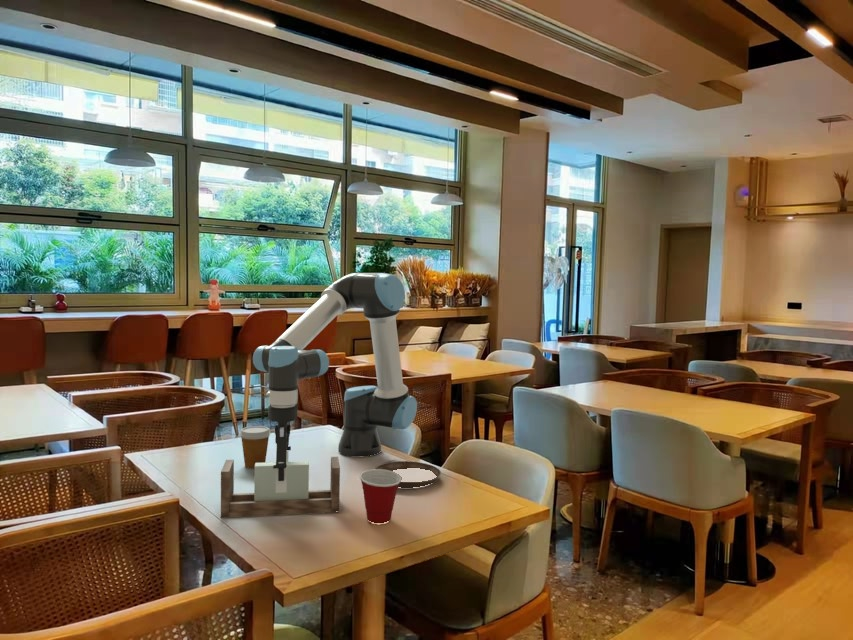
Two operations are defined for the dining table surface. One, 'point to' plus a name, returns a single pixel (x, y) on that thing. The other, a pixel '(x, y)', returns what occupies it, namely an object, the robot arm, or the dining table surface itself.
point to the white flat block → (295, 481)
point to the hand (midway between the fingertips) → (282, 483)
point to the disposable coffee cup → (254, 445)
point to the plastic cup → (379, 493)
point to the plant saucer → (409, 464)
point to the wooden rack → (248, 507)
